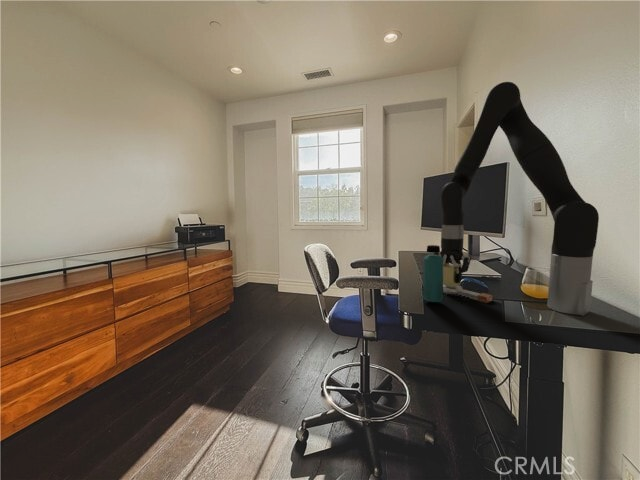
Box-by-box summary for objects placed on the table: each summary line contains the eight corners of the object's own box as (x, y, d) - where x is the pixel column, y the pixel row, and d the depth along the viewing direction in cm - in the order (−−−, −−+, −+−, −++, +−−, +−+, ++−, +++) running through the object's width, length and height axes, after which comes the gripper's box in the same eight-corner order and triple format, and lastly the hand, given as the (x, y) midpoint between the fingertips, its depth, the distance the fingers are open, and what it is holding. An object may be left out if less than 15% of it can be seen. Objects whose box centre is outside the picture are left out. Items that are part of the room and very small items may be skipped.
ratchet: (434, 291, 105) (435, 278, 104) (446, 287, 109) (447, 275, 108) (483, 304, 90) (484, 290, 89) (495, 299, 94) (495, 285, 93)
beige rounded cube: (460, 284, 102) (461, 266, 101) (453, 286, 100) (453, 268, 99) (448, 281, 106) (448, 264, 106) (440, 283, 104) (441, 265, 103)
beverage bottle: (446, 306, 89) (448, 246, 87) (426, 306, 89) (427, 247, 87) (437, 299, 96) (439, 243, 93) (419, 300, 96) (420, 244, 93)
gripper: (477, 237, 97) (475, 283, 99) (440, 234, 109) (439, 275, 111) (465, 239, 93) (463, 287, 95) (429, 236, 105) (428, 278, 107)
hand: (450, 280), depth 103 cm, fingers closed on beige rounded cube, 5 cm apart
